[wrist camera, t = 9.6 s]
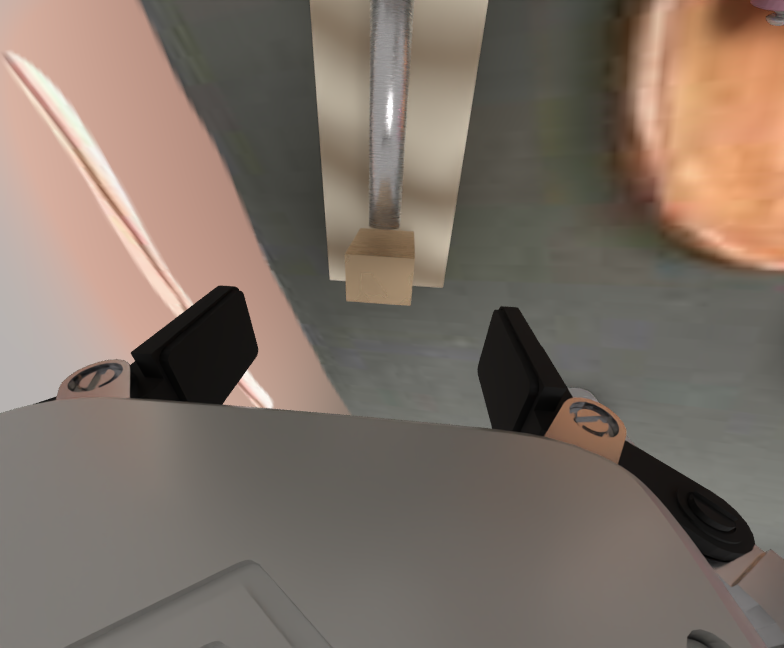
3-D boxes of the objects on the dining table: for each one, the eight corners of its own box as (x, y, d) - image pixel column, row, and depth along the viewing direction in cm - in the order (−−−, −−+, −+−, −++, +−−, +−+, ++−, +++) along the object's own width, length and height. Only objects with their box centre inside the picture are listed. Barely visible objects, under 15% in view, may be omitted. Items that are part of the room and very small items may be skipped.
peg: (358, -37, 14) (328, -137, 9) (437, -34, 14) (452, -132, 9) (360, 266, 23) (346, 301, 18) (410, 269, 23) (410, 305, 18)
